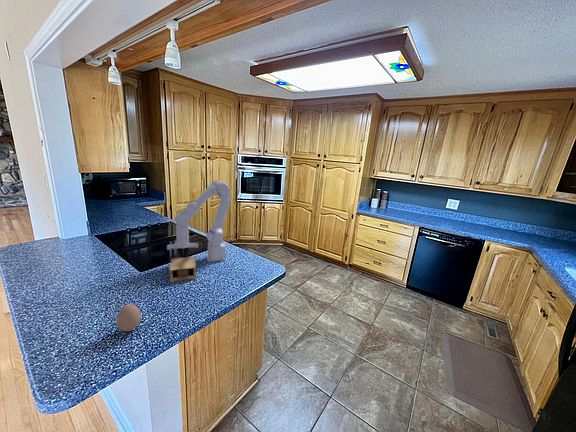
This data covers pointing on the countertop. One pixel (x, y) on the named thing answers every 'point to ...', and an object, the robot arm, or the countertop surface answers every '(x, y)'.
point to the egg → (128, 317)
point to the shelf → (182, 267)
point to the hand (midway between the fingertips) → (183, 261)
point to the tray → (182, 272)
